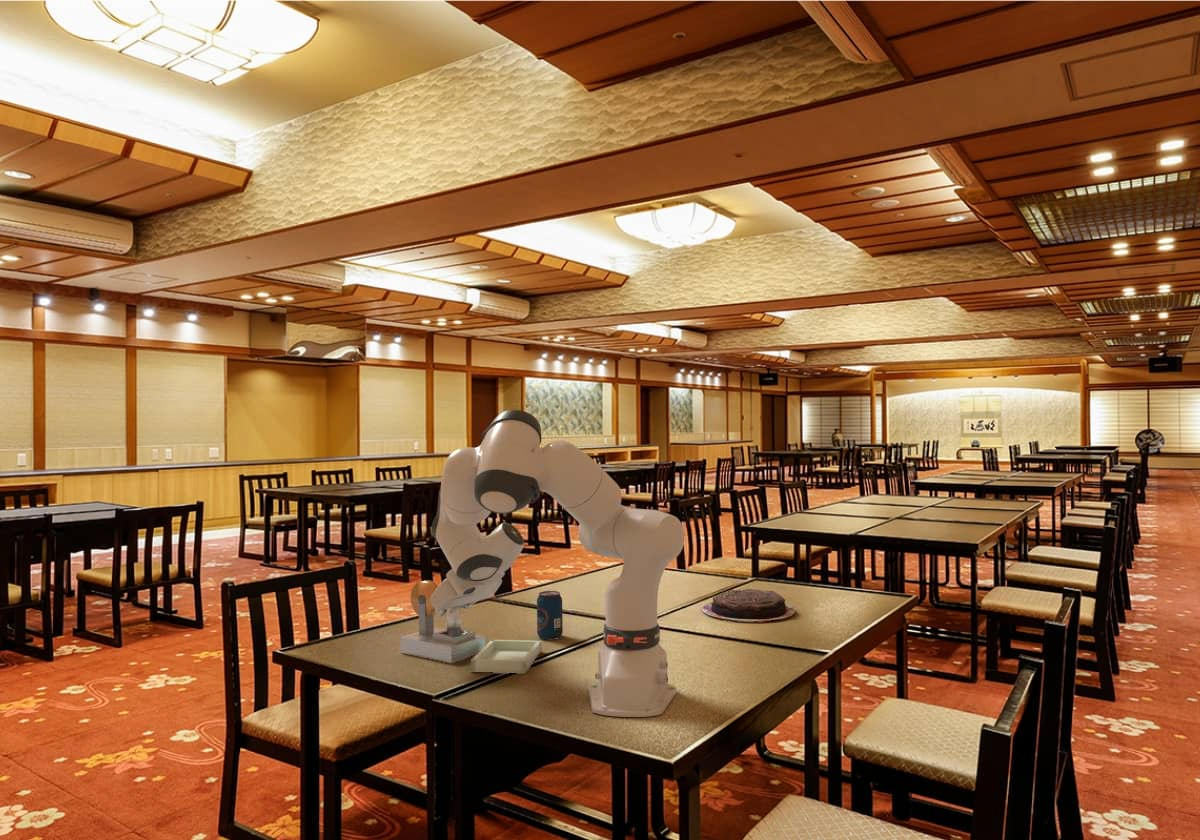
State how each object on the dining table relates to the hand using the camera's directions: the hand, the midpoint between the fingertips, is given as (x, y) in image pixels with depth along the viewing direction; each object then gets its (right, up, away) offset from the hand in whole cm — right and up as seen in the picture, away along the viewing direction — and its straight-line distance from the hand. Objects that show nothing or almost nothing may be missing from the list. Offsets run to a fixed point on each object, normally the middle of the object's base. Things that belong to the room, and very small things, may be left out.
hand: (451, 610), depth 195 cm
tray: (+15, -11, -7) cm, 20 cm away
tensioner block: (-3, -11, +2) cm, 12 cm away
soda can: (+24, -11, +15) cm, 30 cm away
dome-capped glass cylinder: (+1, -7, 0) cm, 7 cm away
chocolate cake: (+83, -11, +41) cm, 93 cm away
